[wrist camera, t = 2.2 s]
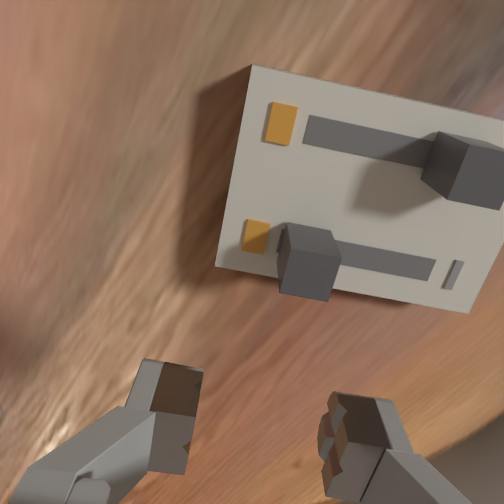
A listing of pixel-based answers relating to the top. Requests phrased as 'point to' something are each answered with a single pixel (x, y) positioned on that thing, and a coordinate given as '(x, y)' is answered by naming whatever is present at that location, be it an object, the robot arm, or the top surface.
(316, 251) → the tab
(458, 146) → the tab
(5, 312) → the top surface
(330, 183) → the switch housing
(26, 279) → the top surface
